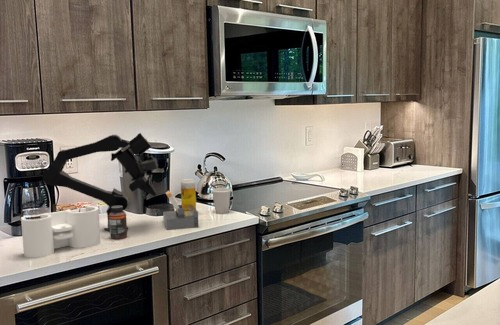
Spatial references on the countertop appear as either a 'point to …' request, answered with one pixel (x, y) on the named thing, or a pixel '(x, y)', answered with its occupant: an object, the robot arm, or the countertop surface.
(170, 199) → the breaker lever
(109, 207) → the robot arm
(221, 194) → the dixie cup
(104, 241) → the countertop surface
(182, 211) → the grey block with tab
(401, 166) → the countertop surface
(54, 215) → the white twin cylinder holder
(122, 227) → the supplement bottle
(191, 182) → the yellow jar
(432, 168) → the countertop surface
